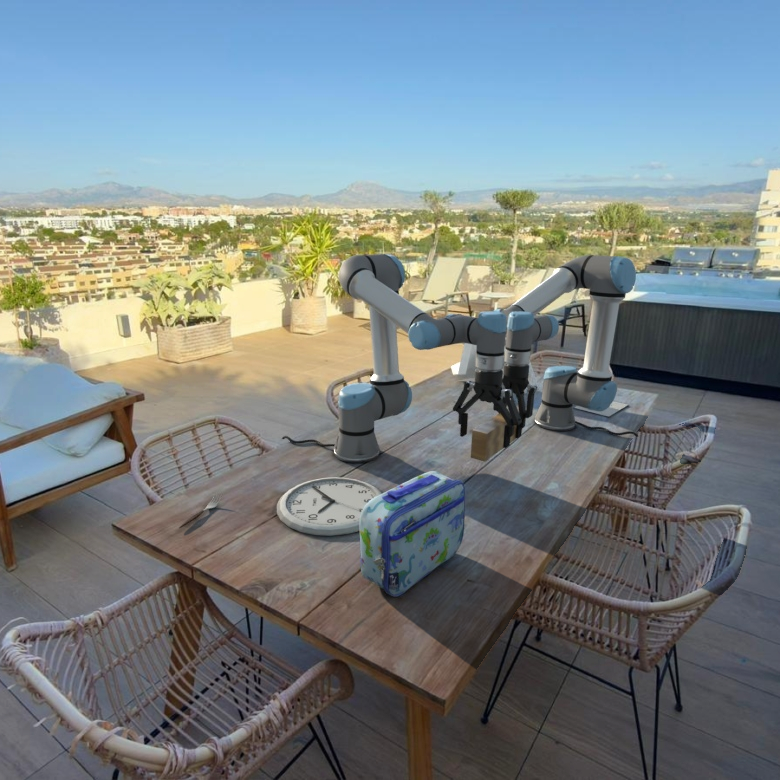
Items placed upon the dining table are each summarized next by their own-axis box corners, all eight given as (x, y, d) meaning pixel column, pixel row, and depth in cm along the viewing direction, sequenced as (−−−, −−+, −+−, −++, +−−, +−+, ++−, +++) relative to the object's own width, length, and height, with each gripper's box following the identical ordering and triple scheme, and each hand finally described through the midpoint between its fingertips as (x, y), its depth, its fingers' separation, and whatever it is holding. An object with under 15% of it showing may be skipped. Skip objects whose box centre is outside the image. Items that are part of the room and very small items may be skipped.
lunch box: (388, 609, 104) (390, 516, 98) (353, 583, 111) (352, 496, 105) (468, 555, 122) (474, 474, 115) (433, 536, 129) (437, 458, 123)
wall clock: (392, 527, 129) (268, 531, 127) (391, 533, 130) (269, 537, 127) (383, 473, 158) (282, 475, 155) (383, 478, 158) (282, 480, 156)
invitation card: (608, 416, 214) (573, 407, 224) (608, 416, 214) (573, 408, 224) (628, 404, 229) (594, 396, 238) (628, 405, 229) (594, 397, 238)
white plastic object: (472, 423, 260) (450, 400, 235) (454, 348, 282) (432, 320, 258) (544, 398, 248) (529, 371, 223) (519, 323, 270) (503, 291, 245)
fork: (174, 529, 130) (174, 521, 130) (216, 499, 144) (215, 492, 144) (183, 531, 129) (182, 524, 129) (223, 501, 144) (223, 494, 143)
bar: (508, 431, 169) (510, 406, 167) (521, 435, 167) (523, 410, 164) (470, 457, 150) (472, 429, 147) (484, 461, 147) (487, 433, 145)
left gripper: (443, 364, 148) (440, 434, 154) (526, 379, 133) (520, 456, 139) (456, 359, 153) (453, 427, 160) (538, 373, 139) (531, 447, 145)
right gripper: (484, 361, 160) (479, 431, 167) (540, 370, 150) (532, 445, 157) (495, 356, 166) (490, 425, 173) (549, 365, 156) (541, 438, 163)
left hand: (484, 440), depth 150 cm, fingers open, 13 cm apart
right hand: (510, 434), depth 165 cm, fingers closed on bar, 5 cm apart
